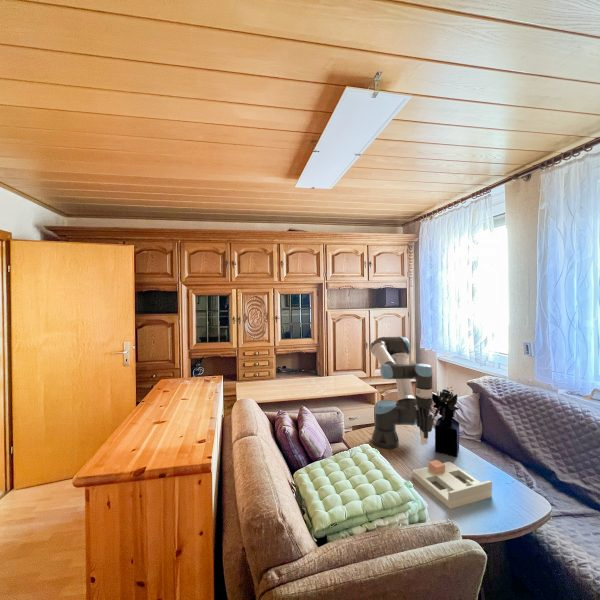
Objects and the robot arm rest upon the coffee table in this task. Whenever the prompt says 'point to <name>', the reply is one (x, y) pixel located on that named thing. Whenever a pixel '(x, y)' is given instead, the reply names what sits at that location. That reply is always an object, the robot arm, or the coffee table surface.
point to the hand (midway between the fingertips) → (424, 443)
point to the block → (436, 466)
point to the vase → (446, 423)
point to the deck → (453, 485)
